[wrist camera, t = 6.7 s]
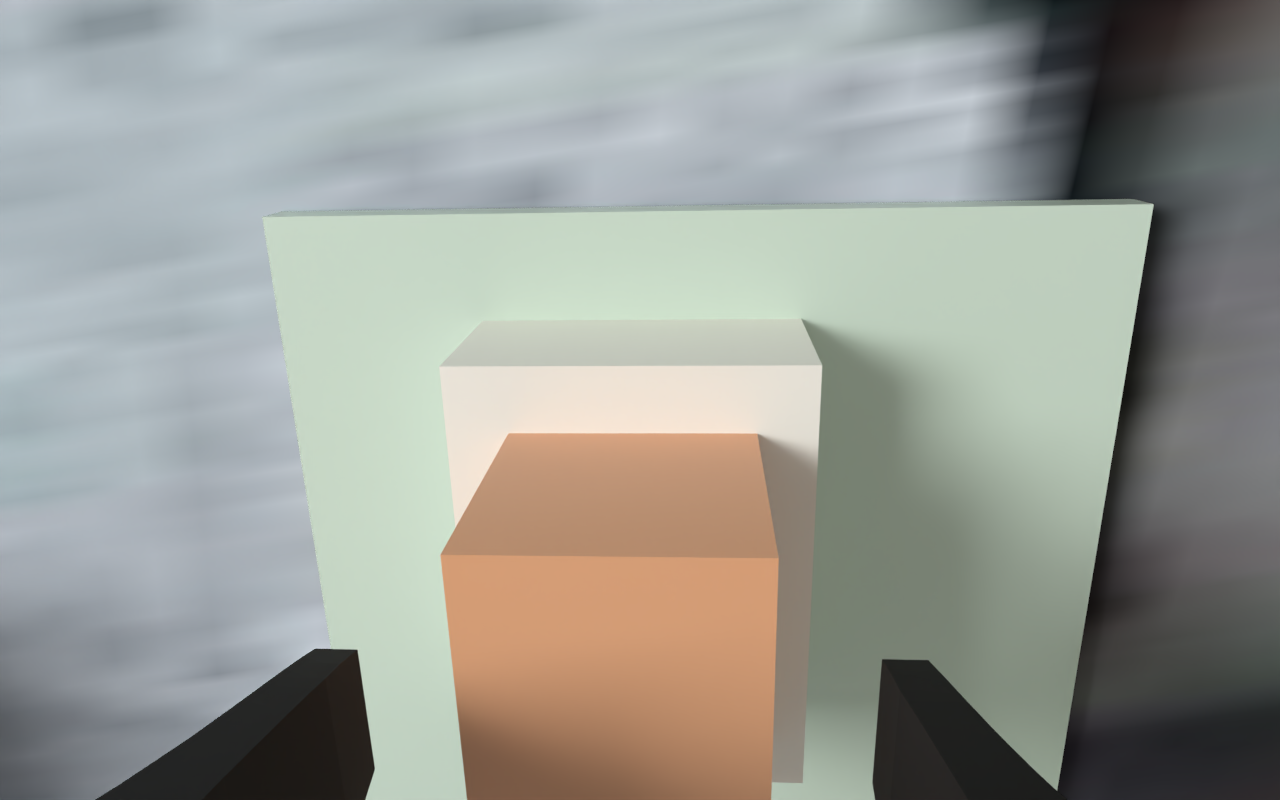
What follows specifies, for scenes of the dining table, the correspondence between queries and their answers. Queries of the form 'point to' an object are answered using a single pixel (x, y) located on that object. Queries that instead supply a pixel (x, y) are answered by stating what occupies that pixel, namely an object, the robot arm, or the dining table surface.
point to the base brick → (662, 430)
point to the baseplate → (848, 432)
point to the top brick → (616, 619)
